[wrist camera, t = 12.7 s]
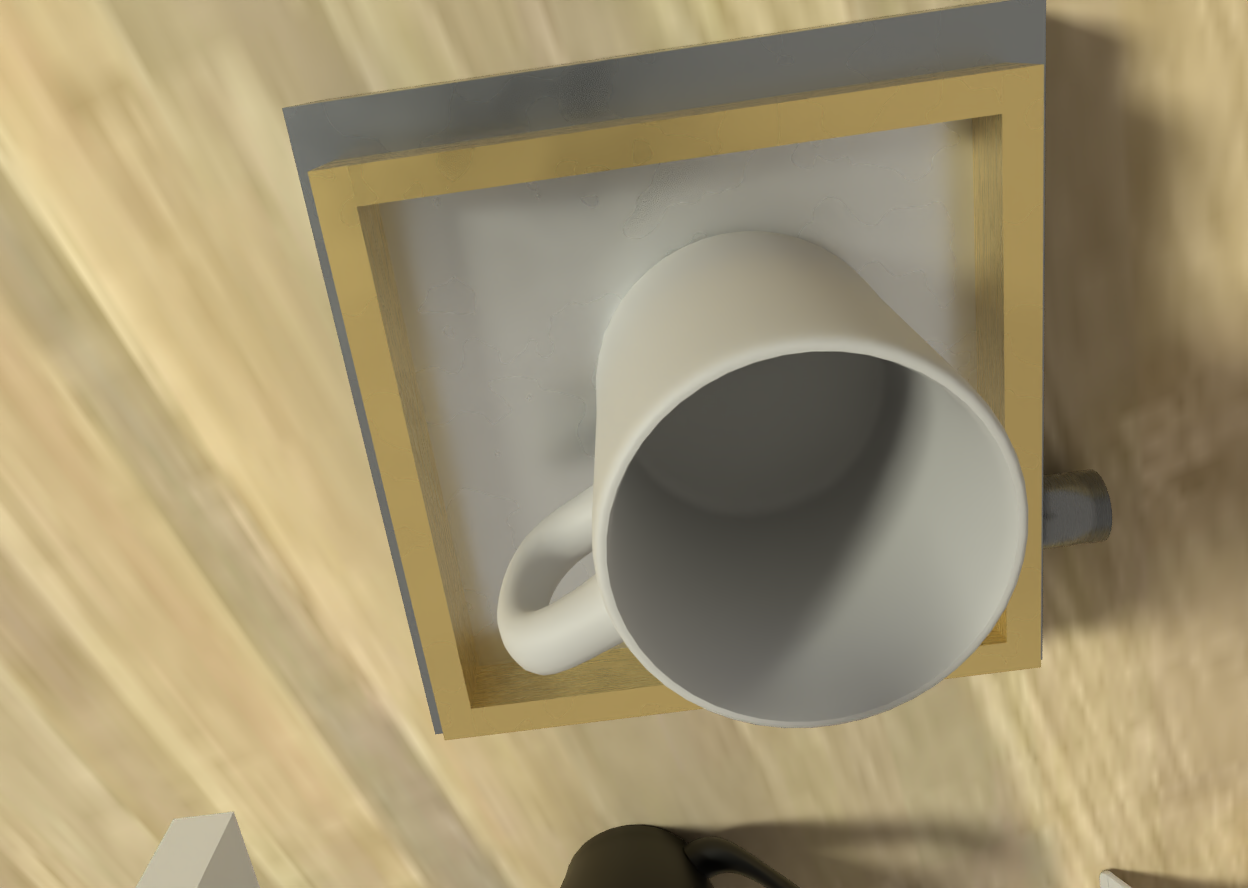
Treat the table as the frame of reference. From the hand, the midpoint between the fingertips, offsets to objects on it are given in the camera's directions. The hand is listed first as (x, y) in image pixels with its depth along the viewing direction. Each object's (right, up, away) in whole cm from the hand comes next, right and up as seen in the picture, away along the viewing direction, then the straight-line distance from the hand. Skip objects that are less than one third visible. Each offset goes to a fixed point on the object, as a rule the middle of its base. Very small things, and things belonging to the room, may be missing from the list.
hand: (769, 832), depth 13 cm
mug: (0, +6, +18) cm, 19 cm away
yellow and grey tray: (+2, +7, +21) cm, 23 cm away
